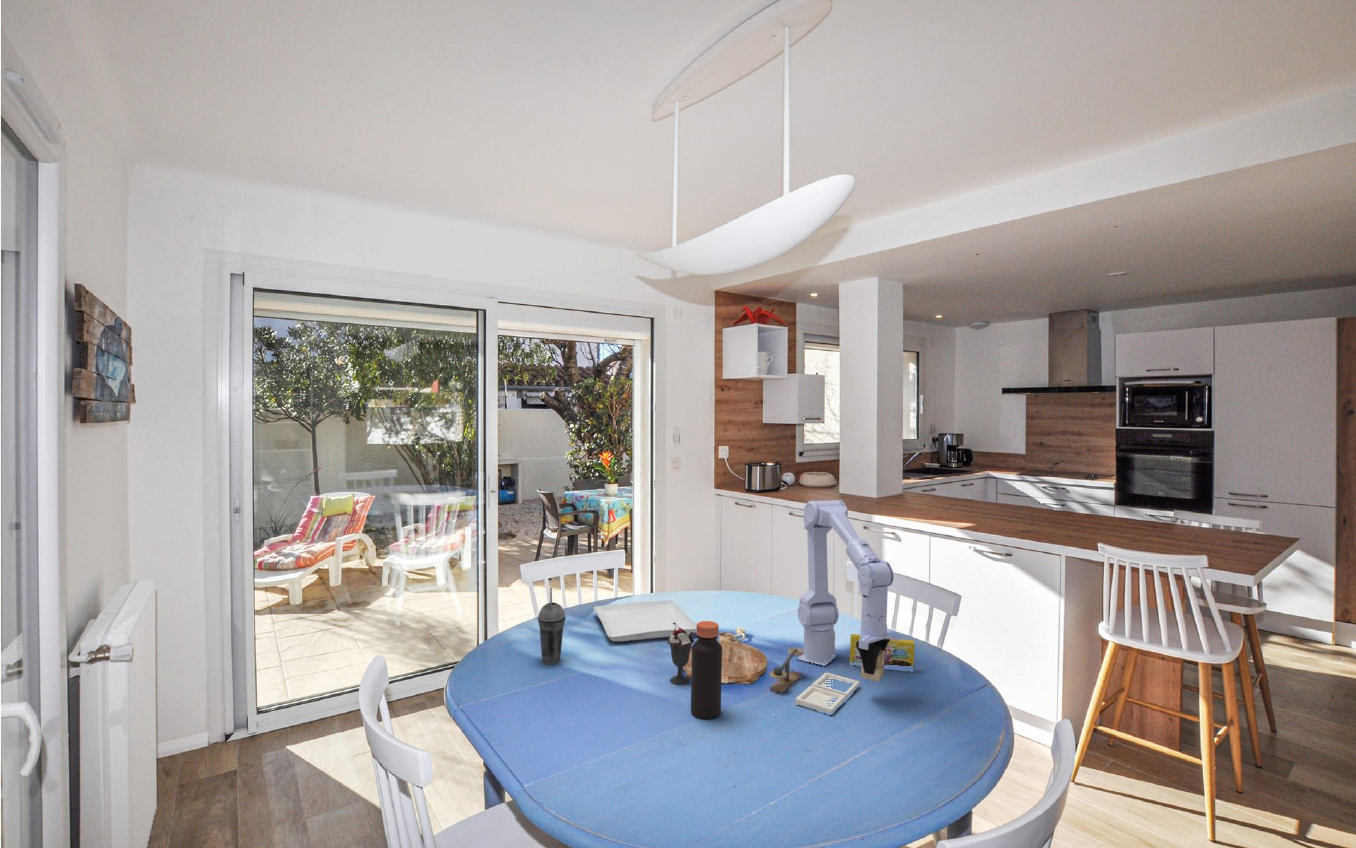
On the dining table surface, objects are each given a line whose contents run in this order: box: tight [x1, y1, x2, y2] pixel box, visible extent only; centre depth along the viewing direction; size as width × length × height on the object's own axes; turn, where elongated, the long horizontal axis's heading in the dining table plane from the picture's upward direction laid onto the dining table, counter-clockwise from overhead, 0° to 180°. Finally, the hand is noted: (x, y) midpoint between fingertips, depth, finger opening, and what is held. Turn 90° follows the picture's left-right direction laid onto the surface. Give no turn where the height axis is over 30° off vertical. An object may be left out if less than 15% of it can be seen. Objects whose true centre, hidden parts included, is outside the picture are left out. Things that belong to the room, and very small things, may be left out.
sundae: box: [666, 623, 695, 686], centre depth 161 cm, size 7×7×15 cm
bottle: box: [690, 620, 723, 720], centre depth 145 cm, size 7×7×20 cm
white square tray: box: [811, 672, 861, 698], centre depth 158 cm, size 9×9×2 cm
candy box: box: [849, 633, 915, 666], centre depth 171 cm, size 16×2×8 cm, turn 76°
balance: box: [769, 647, 804, 694], centre depth 161 cm, size 14×4×7 cm, turn 145°
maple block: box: [860, 650, 885, 683], centre depth 152 cm, size 4×4×6 cm
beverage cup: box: [537, 587, 566, 665], centre depth 171 cm, size 7×7×20 cm
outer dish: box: [794, 685, 846, 714], centre depth 150 cm, size 9×9×2 cm
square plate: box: [592, 600, 697, 643], centre depth 199 cm, size 27×27×4 cm
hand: (872, 670), depth 152 cm, fingers closed on maple block, 4 cm apart
